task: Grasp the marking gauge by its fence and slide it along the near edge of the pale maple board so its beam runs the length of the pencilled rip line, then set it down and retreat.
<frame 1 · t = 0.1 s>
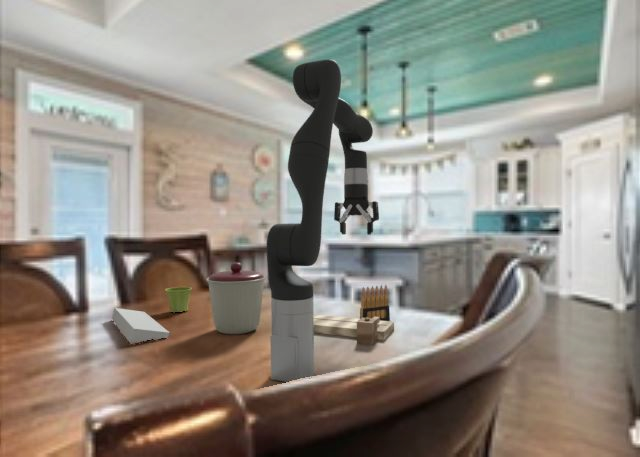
hand: (356, 234, 131), 29 cm above the table, tool pointing down, fingers open, 8 cm apart
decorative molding: (138, 331, 131), on the table
canister: (237, 330, 127), on the table
ammunition clip: (375, 322, 135), on the table
board: (344, 330, 126), on the table
plant pot: (179, 312, 155), on the table
gauge: (367, 341, 114), on the table
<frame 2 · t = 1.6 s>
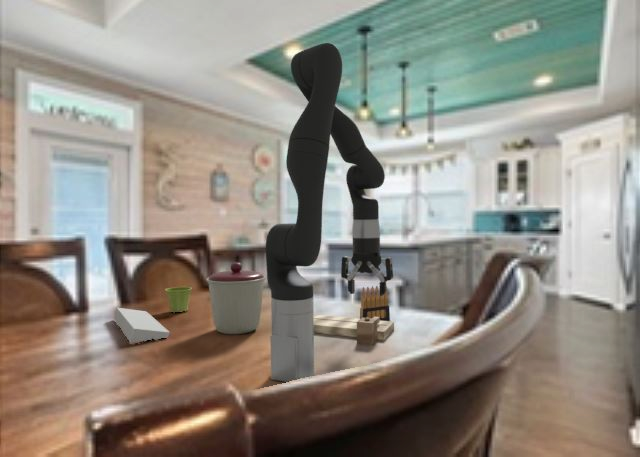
hand: (367, 294, 114), 13 cm above the table, tool pointing down, fingers open, 8 cm apart
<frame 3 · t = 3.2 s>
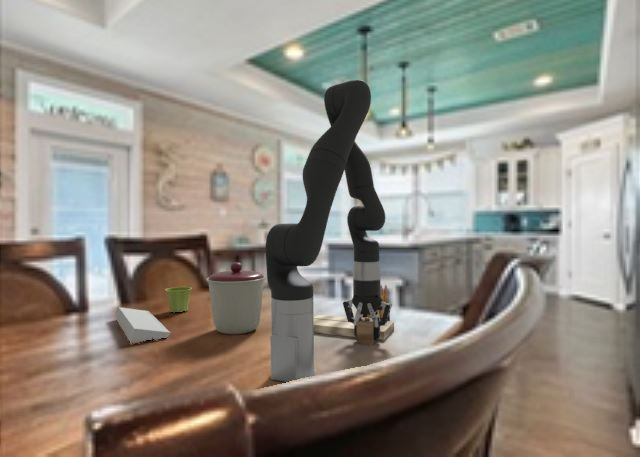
hand: (367, 338, 114), 1 cm above the table, tool pointing down, fingers closed on gauge, 4 cm apart
gauge: (367, 341, 114), on the table, touching gripper
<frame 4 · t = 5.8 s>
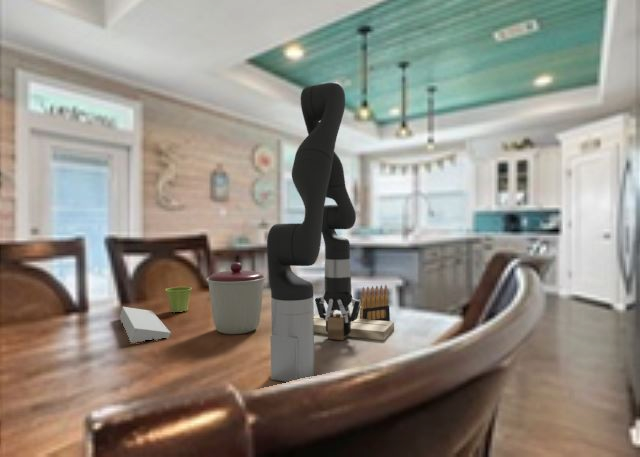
hand: (338, 333, 117), 1 cm above the table, tool pointing down, fingers closed on gauge, 4 cm apart
gauge: (338, 337, 117), on the table, touching gripper
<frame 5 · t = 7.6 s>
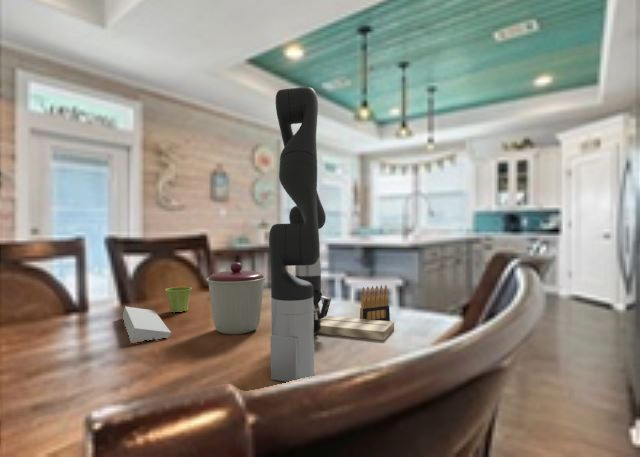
hand: (308, 330, 121), 1 cm above the table, tool pointing down, fingers closed on gauge, 4 cm apart
gauge: (308, 333, 121), on the table, touching gripper
when the fingers open (1 cm above the table, at t = 8.6 s): gauge stays where it is, on the table.
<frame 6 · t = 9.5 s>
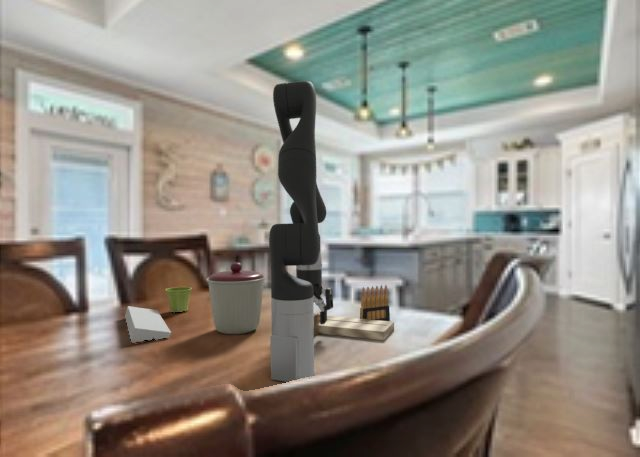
hand: (309, 322, 121), 4 cm above the table, tool pointing down, fingers open, 8 cm apart
gauge: (308, 335, 121), on the table
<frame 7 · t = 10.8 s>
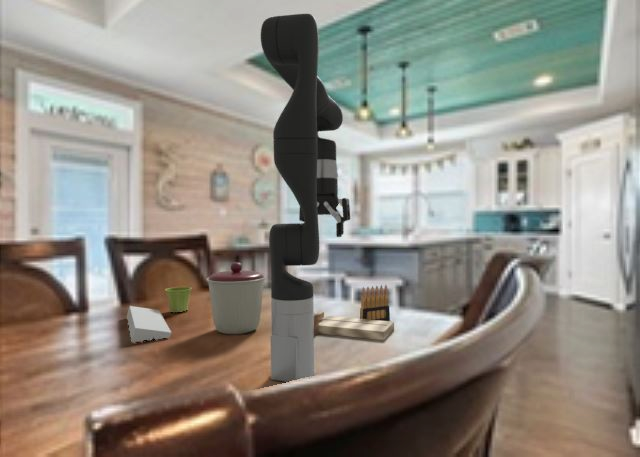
hand: (324, 236, 113), 29 cm above the table, tool pointing down, fingers open, 8 cm apart
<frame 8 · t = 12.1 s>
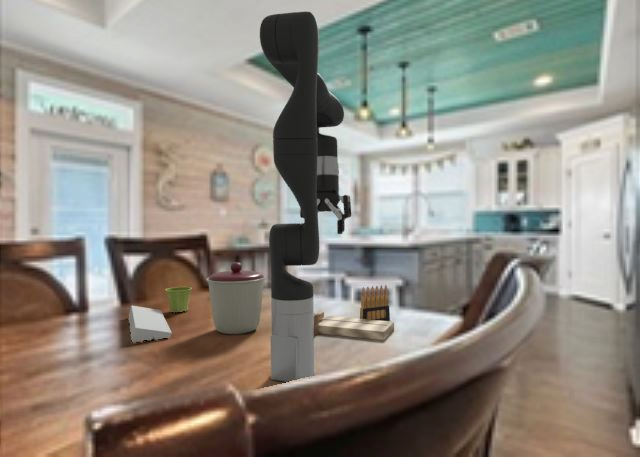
hand: (325, 233, 112), 30 cm above the table, tool pointing down, fingers open, 8 cm apart
at the end: gauge inside the target area (0.1 cm from its centre), on the table; gauge moved 18.0 cm from its start; gauge tilted 0° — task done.
